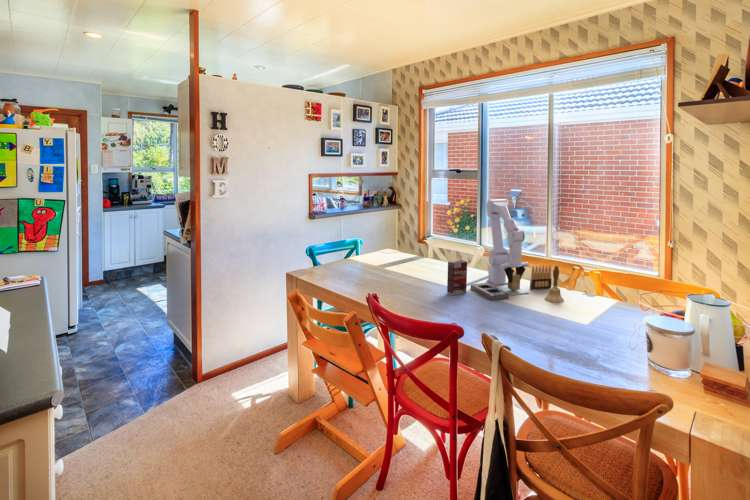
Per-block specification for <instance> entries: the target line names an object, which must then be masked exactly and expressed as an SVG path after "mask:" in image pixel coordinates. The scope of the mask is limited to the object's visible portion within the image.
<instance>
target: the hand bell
mask: <svg viewBox="0 0 750 500" xmlns="http://www.w3.org/2000/svg"><path fill="white" fill-rule="evenodd" d="M552 277H553V284H552V285H553V286H551V288H550V289H549V290H548V294H547V295H546V296H545V297H543V298H544V300H545V301H546V302H549V303H556V304H557V303H564V302H565V300H564V298H563V297H562V294H561V288H560V287H558V279H559V277H560V269H559V266H558V265H555V266H554V267H553V270H552Z"/></svg>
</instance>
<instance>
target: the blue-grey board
mask: <svg viewBox="0 0 750 500" xmlns="http://www.w3.org/2000/svg"><path fill="white" fill-rule="evenodd" d="M500 289H501V290H503V291H505V292H507V293H509V296H510V297H511V296H517V295H529V291H527V290H525V289H522V288H520V290H510V289H508V287H503V288H500Z"/></svg>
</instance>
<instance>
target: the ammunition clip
mask: <svg viewBox="0 0 750 500" xmlns="http://www.w3.org/2000/svg"><path fill="white" fill-rule="evenodd" d="M538 266H539V267H538ZM551 287H552V265H551V264H549V266H548V264H547V265H544V264H543V265H542V266H541V265H536V266H534V265H533V266H532V268H531V275H530V282H529V289H530V290H533V291H534V290H547V289H549V290H550V288H551Z"/></svg>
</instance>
